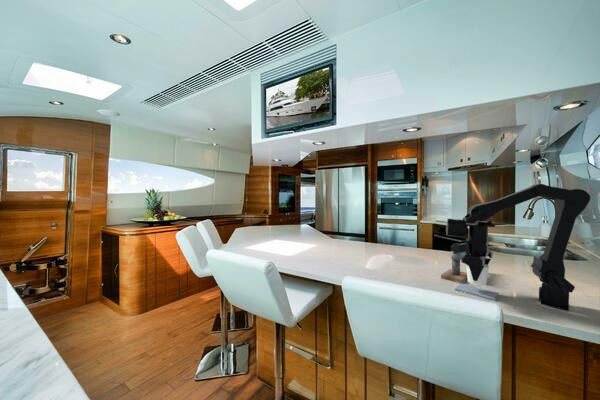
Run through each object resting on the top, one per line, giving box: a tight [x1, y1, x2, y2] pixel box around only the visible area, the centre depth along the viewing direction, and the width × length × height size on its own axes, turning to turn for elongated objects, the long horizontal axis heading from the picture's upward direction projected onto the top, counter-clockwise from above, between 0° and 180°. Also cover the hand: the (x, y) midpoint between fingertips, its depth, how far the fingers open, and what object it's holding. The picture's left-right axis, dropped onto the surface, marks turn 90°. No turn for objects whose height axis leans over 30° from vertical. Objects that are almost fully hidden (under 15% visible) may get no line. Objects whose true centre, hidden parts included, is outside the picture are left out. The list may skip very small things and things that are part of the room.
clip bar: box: [450, 251, 466, 262], centre depth 109 cm, size 20×4×3 cm, turn 130°
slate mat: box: [454, 283, 499, 302], centre depth 89 cm, size 12×8×1 cm, turn 41°
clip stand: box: [440, 259, 468, 284], centre depth 104 cm, size 8×12×8 cm, turn 131°
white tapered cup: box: [465, 264, 490, 286], centre depth 89 cm, size 7×7×7 cm
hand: (477, 278), depth 89 cm, fingers closed on white tapered cup, 6 cm apart
